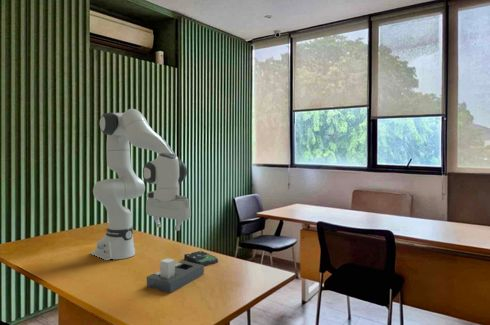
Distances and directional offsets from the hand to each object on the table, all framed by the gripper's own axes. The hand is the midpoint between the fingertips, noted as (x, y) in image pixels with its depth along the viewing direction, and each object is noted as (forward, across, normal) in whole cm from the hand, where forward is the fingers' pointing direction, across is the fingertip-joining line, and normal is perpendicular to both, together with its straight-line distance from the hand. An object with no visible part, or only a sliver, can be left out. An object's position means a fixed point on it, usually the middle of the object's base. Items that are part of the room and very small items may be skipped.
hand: (167, 228), depth 137 cm
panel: (+23, 0, -5) cm, 24 cm away
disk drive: (+24, +5, -30) cm, 39 cm away
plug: (+23, 0, 0) cm, 23 cm away
